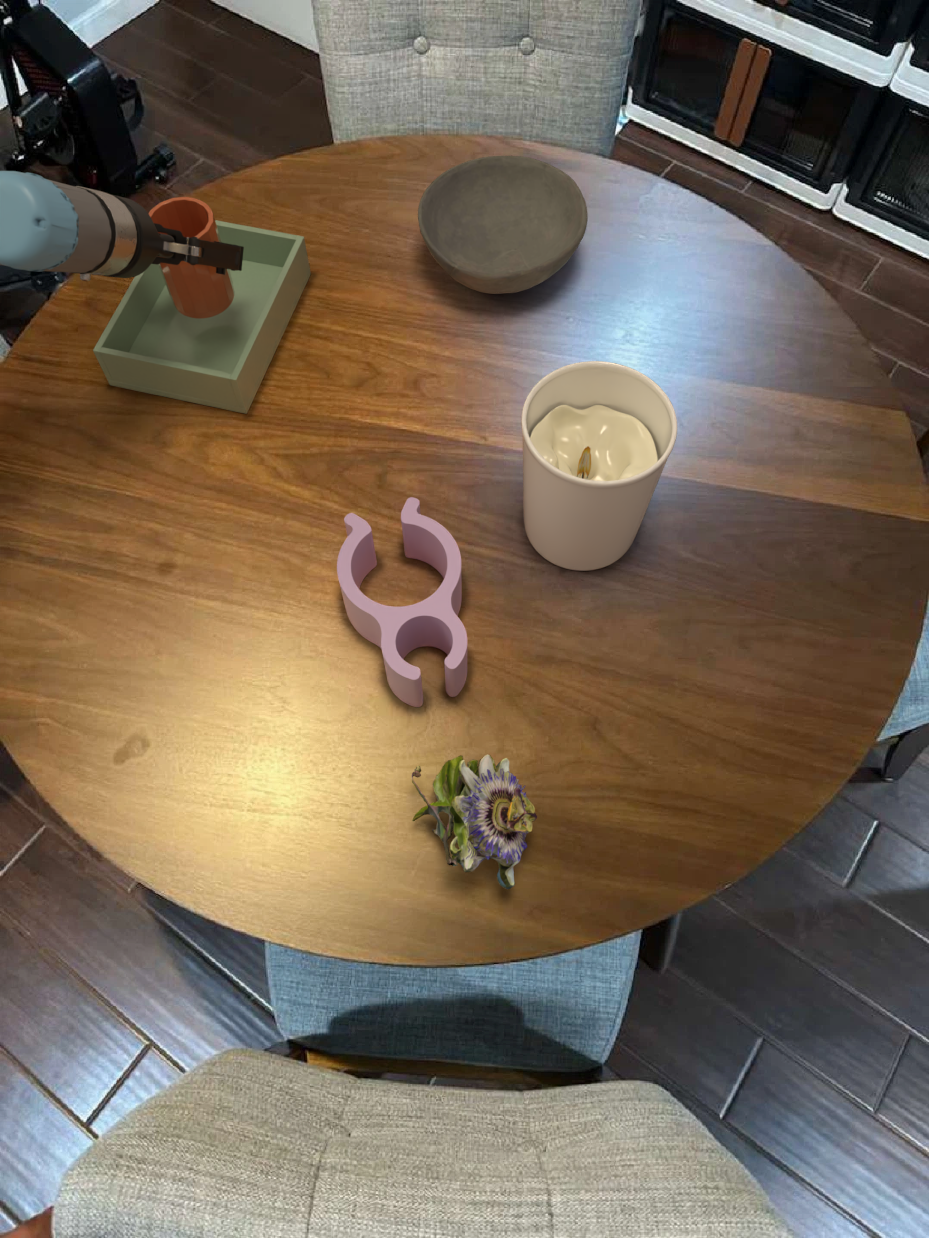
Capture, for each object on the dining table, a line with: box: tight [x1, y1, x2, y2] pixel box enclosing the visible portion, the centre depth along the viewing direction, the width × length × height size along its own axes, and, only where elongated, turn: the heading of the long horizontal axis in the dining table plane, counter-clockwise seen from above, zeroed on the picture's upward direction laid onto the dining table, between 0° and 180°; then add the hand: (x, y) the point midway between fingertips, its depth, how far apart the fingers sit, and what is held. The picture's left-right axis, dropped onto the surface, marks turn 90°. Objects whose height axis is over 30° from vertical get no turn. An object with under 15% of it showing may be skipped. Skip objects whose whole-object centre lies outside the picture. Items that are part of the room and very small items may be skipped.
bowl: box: [417, 155, 589, 295], centre depth 122 cm, size 21×21×8 cm
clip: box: [336, 496, 468, 708], centre depth 99 cm, size 20×12×7 cm, turn 17°
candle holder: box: [520, 360, 678, 572], centre depth 99 cm, size 15×15×18 cm
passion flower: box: [411, 754, 538, 890], centre depth 89 cm, size 11×11×12 cm
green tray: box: [92, 219, 312, 415], centre depth 118 cm, size 18×24×6 cm
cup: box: [148, 196, 235, 319], centre depth 111 cm, size 7×7×11 cm
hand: (207, 252), depth 114 cm, fingers closed on cup, 7 cm apart
